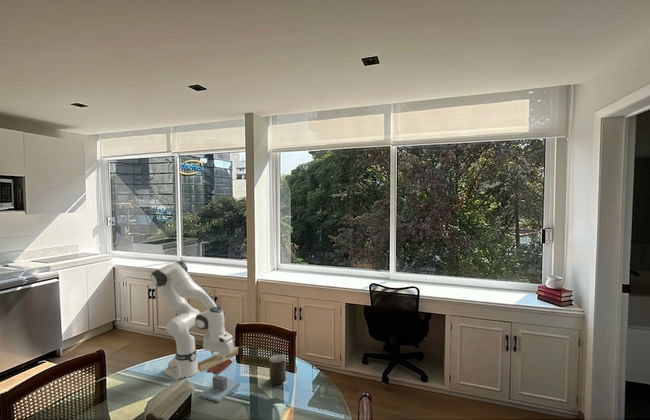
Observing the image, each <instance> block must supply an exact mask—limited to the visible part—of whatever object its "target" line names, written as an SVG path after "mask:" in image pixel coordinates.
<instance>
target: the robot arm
mask: <svg viewBox="0 0 650 420" xmlns="http://www.w3.org/2000/svg"><path fill="white" fill-rule="evenodd" d="M188 271H189V269H188V266H187V264H186V263H185V262H184V261H176V262H173V263H169V264H166V265H165V266H163V267H160V268H159V269H155V270H154V271H152V272H151V274H150V281H151V283H152V284H153V285H154V286H155V287H158V288H160V292H161V294H162V298H163V300H164V302H165V304H166V307H167V309H168V310H170V311H174V312H175V313H176V316H175V317H173V318H171V320H170V321H168V323H167V324H166V327H165V328H166V332H167V333H168V335H170V336H172V337H173V338H174V340H175V347H176V351H175V352H174V354H173V355H175V356H174V357H173V358H172V359H170V361H169V362H168V363H167V368H165V369H164V371H163V374H164V375H167V376H168V377H171V378H172V379H175V380H181V379H185V378H184V377H186V378H191V377H192V376H195V375H196V374H198V372H200V371H199V370H198V355H197V348H196V339H195V335H193V334H190V329H191V328H193V327H195V326H196V328H198V329H199V330H202V331H203V330H204V331H206V330H208V333H204V335H203V342H202V348H203V350H205V351H210V354H211V356H214V355H216V354H218V353H222V355H223V356H222V357H221V360H225V355H226V354H227V355H230V354H232V353H233V352H234V345H235V344H234V341H233V335H232V334H230V333H229V332H228V331H227V330H226V328H225V322H226V320H225V315H226V314H225V313H226V312H225V310H224V308H222V307H221V306H220V304H218V303H217V302H216V301H215V300H214V299H213V297H212V296H211V295H210V293H208V292H207V290H206V289H205V288H203V286H200V285H198V284H197V283H196V282H195V281H194V280H193V278H192V277H191V276H190V274H189V273H188ZM187 299H197V300H199V301H200V302H202V304H203V305H204V306H205V307H206V308H207V310H205V311H202V312H200V310H199V309H197V308H194V307H192V305H190V303H188V301H187ZM180 378H181V379H180Z"/></svg>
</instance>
